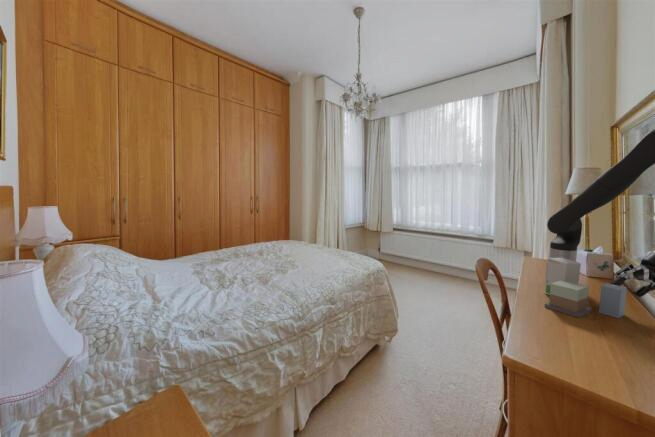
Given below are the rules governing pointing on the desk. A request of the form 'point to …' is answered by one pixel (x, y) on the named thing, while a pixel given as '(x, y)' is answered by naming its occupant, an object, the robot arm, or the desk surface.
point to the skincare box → (561, 272)
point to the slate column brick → (612, 300)
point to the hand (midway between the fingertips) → (624, 290)
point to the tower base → (569, 298)
